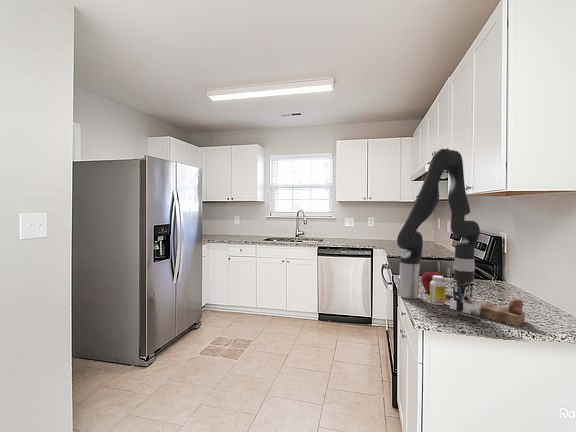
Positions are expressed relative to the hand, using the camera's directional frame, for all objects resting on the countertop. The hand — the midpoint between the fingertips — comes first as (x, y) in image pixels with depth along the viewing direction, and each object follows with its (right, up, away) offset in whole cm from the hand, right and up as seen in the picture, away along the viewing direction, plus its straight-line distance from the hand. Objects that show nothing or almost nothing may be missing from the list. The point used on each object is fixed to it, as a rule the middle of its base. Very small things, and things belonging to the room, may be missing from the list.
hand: (462, 309), depth 130 cm
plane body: (+12, -3, +2) cm, 13 cm away
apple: (+4, -2, +37) cm, 37 cm away
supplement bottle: (-2, -3, +18) cm, 18 cm away
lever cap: (+1, 0, -1) cm, 1 cm away
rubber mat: (0, -3, 0) cm, 3 cm away
